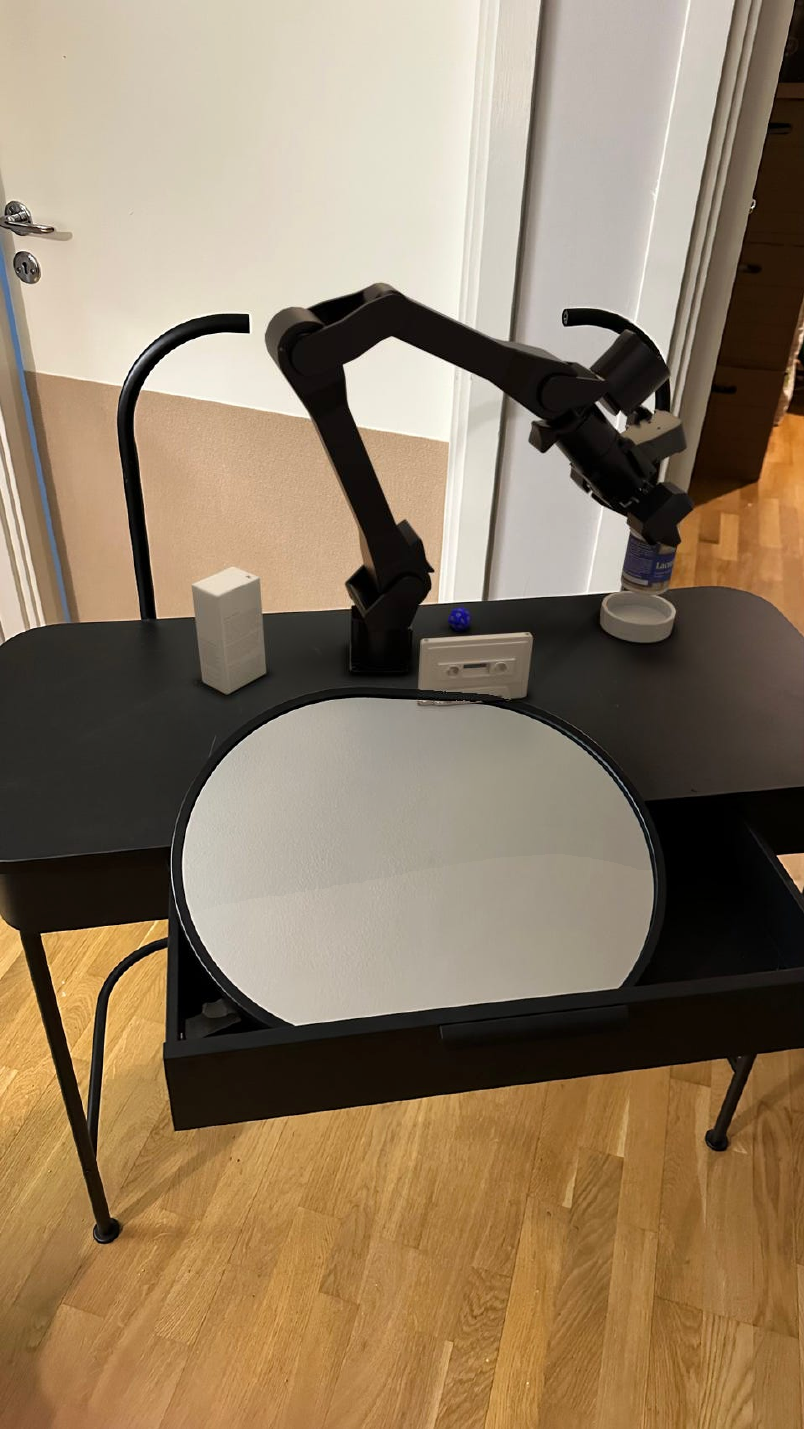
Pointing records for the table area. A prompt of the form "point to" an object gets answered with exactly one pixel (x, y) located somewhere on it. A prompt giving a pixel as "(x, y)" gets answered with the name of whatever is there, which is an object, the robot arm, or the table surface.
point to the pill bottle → (647, 566)
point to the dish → (637, 616)
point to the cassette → (475, 650)
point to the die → (459, 618)
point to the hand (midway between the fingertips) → (664, 534)
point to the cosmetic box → (229, 629)
